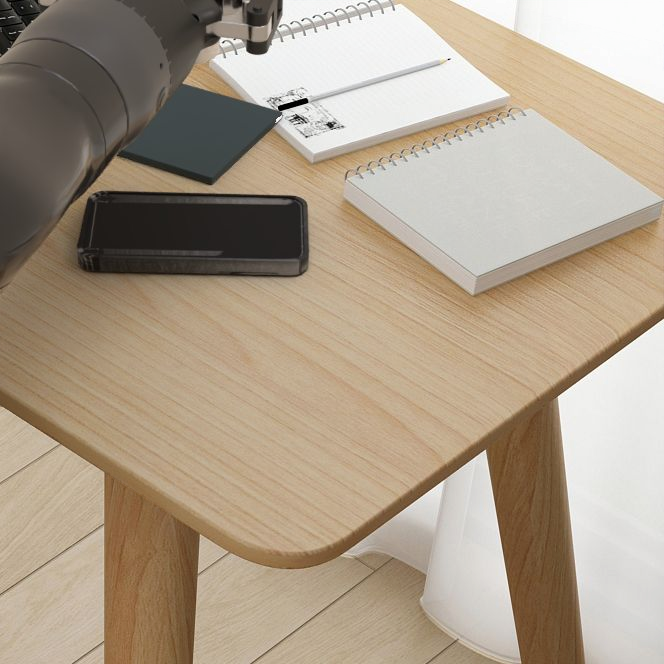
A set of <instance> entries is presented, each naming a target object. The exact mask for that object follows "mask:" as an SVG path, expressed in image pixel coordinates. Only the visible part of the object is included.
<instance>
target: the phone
mask: <svg viewBox="0 0 664 664" xmlns="http://www.w3.org/2000/svg"><path fill="white" fill-rule="evenodd" d="M83 212H84V213H83V217H82V221H81V224H80V225H81V226H80V230H79V235H78V239H77V243H76V254H77V262H78V265H79V267H80V268H82V269H83V270H86V271H90V272H117V273H118V272H121V273H128V272H129V273H161V274H162V273H165V274H166V273H167V274H169V273H170V274H207V275H208V274H211V275H212V274H213V275H216V274H217V275H258V276H260V275H262V276H296V275H297V276H298V275H301V274H303V273H304V272H305V273H306V271H307V270H308V268H309V261H310V260H309V259H310V239H309V238H310V236H309V235H310V233H309V205H308V202H307V201H306V199H304V198H303V197H300V196H298V195H291V194H257V193H256V194H255V193H254V194H253V193H215V192H213V193H211V192H207V193H206V192H178V191H177V192H175V191H174V192H173V191H171V192H170V191H137V190H133V191H132V190H100V191H96V192H93V193H91V194H90V195H89V196H88V197H87V199H86V204H85V207H84V211H83Z"/></svg>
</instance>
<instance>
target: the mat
mask: <svg viewBox="0 0 664 664" xmlns="http://www.w3.org/2000/svg"><path fill="white" fill-rule="evenodd" d="M281 115H282V116H283V111H280V110H277V109H274V108H270V107H266V106H263V105H259V104H256V103H253V102H249V101H245V100H242V99H240V98H239V99H238V98H236V97H232V96H228V95H226V94H225V95H224V94H221V93H218V92H214V91H211V90H207V89H204V88H200V87H196V86H194V85H190V84H186V83H184V82H183V83H182V84H181V85H180V86H179V88H178V89H177V90H176V91H175V93H174V94H173V95H172V96H171V97H170V99H169V100H168V101H167V102H166V104H165V105H164V106H163V107H162V109H161V110H160V111H159V112H158V113H157V114H156V116H155V117H154V118H153V119H152V121H151V122H150V123H149V124H148V126H147V127H146V128H145V129H144V131H143V132H142V133H141V134H140V135H139V136H138V137H137V138H136V139H135V140H134V141H133V142H132V143H131V144H129V145H128V146H127V147H126V148H124V149H123V150H122V151H120V152H119V153H118V154H117V156H118V157H123V158H125V159H129V160H132V161H135V162H138V163H141V164H144V165H147V166H151V167H154V168H157V169H161V170H164V171H167V172H170V173H174V174H177V175H180V176H183V177H187V178H188V179H189V178H190V179H192V180H196V181H199V182H202V183H205V184H209V185H214V184H215V183H216V182H217V181H218V180H219V179H220V178H221V177H223V175H224V174H225V173H226V172H227V171H228V170H229V169H230V168H232V167H233V166H234V165H235V164H236V163H237V162H238V161H239V160H240V159H241V158H242V157H243V156H244V155H245V154H246V153H248V152H249V151H250V150H251V148H253V147H254V146H255V145H256V144H257V143H258V142H259V141H260V140H262V138H263V137H264V136H265V135H266V134H268V133H269V132H270V131H271V130H272V129H273V128H274V127H275V126H276V125H277V124H276V123H275V122H276V119H277V118H278V117H280V116H281ZM275 124H276V125H275Z"/></svg>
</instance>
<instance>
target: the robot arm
mask: <svg viewBox="0 0 664 664" xmlns="http://www.w3.org/2000/svg"><path fill="white" fill-rule="evenodd" d="M38 6H39V7H38V8H39V15H38V16H37V17H36V18H34V19H33V20H32V21H31V22H30V23H29V24H27V26H26V27H25V28H24V29H23V30H22V31H21V32H20V34H19V35H18V37H17V38H16V40H14V42H13V44H12V45H11V47H10V48H9V49H8V50H7V51H6V52H5V53H4V54H3V55H1V56H0V297H2V295H3V294H4V293H5V292H6V290H7V289H8V288H9V286H10V285H12V283H13V282H14V281H15V279H16V278H17V277H18V276H19V275H20V273H22V271H23V269H24V268H25V267H26V266H27V264H28V263H29V262H30V261H31V260H32V258H33V257H34V256H35V255H36V254H37V252H38V251H39V249H40V248H41V247H42V245H43V244H44V242H45V241H46V240H47V238H48V237H49V236H50V235H51V233H52V232H53V231H54V229H55V228H56V226H57V225H58V224H59V222H60V220H61V219H62V218H63V216H64V215H65V214H66V212H67V211H68V209H70V207H71V206H72V204H74V203H75V202H77V200H79V199H80V198H81V197H82V196H83V195H84V194H85V193H86V192H87V191H88V190H89V189H90V188H91V187H92V185H93V184H94V183H96V181H97V180H98V179H99V177H100V176H101V175H102V174H103V173H104V171H105V170H107V168H108V167H109V165H110V164H111V163H112V162H113V161H114V159H115V158H116V157H117V156H118V155H117V154H118V153H119V152H120V151H122V150H123V149H124V148H126V147H127V146H128V145H129V144H131V143H132V142H133V141H134V140H135V139H136V138H137V137H138V136H139V135H140V134H141V133H142V132H143V131H144V129H145V128H146V127H147V126H148V124H149V123H150V122H151V121H152V119H153V118H154V117H155V116H156V114H157V113H158V112H159V111H160V110H161V109H162V107H163V106H164V105H165V104H166V102H167V101H168V100H169V99H170V97H171V96H172V95H173V94H174V93H175V91H176V90H177V89H178V88H179V86H180V85H181V84H182V83H183V84H184V81H186V79H187V78H188V76H189V75H190V73H191V72H192V70H193V68H194V67H195V65H196V64H195V62H196V60H197V58H198V55H199V53H200V51H201V50H203V49H205V48H207V47H210V46H212V45H214V44H216V43H217V42H218V41H219V40H220V41H221V40H222V39H221V38H225V39H233V40H241V41H242V42H244V43H245V51H246V52H247V53H248V54H251V55H254V56H262V55H265V54H267V53H268V52H269V49H270V47H271V44H272V41H273V39H274V37H275V35H276V32H277V29H278V27H279V25H280V22H281V20H282V17H283V15H284V14H283V13H284V11H283V10H284V8H283V7H284V0H38Z"/></svg>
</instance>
